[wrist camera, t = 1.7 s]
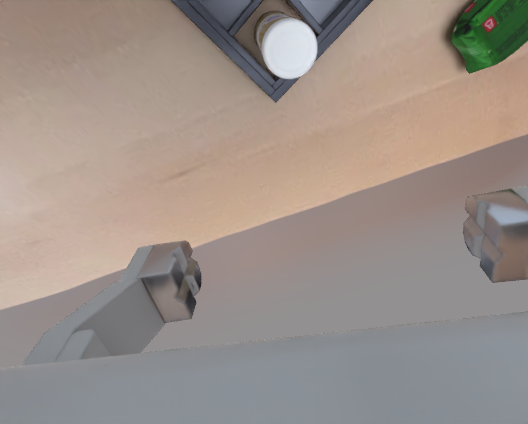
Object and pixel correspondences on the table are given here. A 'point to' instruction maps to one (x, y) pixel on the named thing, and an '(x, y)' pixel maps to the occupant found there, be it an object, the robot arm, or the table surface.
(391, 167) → the table surface
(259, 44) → the sprinkles bottle
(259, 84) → the black divided tray
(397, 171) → the table surface
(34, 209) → the table surface
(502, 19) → the snack package
